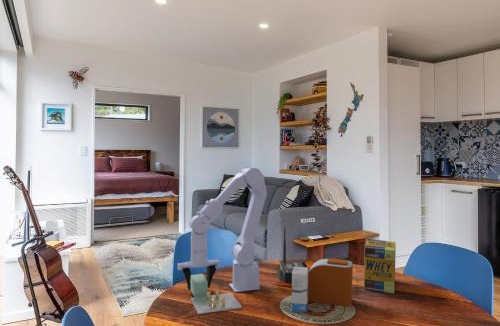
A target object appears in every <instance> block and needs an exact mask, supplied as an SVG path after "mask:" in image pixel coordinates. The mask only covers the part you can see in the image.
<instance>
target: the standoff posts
mask: <svg viewBox="0 0 500 326" xmlns="http://www.w3.org/2000/svg"><path fill="white" fill-rule="evenodd" d="M219 294H220V290H219V289H216V290H215V295H216V298H219ZM210 295H211V290H208V291H207V299H210ZM221 306H225V297H222V298H221ZM212 307H216V299H215V298H213V299H212Z"/></svg>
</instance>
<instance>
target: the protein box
mask: <svg viewBox="0 0 500 326" xmlns="http://www.w3.org/2000/svg"><path fill="white" fill-rule="evenodd" d="M396 252H397V251H396V241H391V240H383V239H382V240H381V239H372V238H367V241H366V244H365V247H364V258H363V259H364V265H363V266H364V271H363V273H364V274H363V289H364V290H366V291H372V292H373V291H374V292H381V293H386V294H395V283H396Z"/></svg>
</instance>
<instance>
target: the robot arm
mask: <svg viewBox="0 0 500 326" xmlns="http://www.w3.org/2000/svg"><path fill="white" fill-rule="evenodd" d="M243 188H248V191H250V193H251V197H250V201H249V203H248V207H247V212H246V214H245V219H244V222H243V225H242V229H241V231H240V232H241V233H240V235H238V237H237V239H236V242H235V244H234V245H233V246H232V247H231V255H232V257H233V260H232V282H231V283H229V287H230V288H231V289H232V290H233V291H234V292H235V293H238V292H239V293H240V292H246V291H247V292H249V291H256V290H260V289H261V286H260V267H259V266H260V265H259V264H258V263H257V262H256V261H254V260H255V247H256V246H255V237H256V233H257V229H258V226H259V224H260V220H261V215H262V212H263V209H264V205H265V202H266V199H267V194H268V191H267V186H266V182H265V175H264V174H263V173H262V171H261V170H260V169H259V168H257V167H251V166H250V167H249V166H246V167H243V168H241V170H240V171H239V172H237V173H236V174H235V175H234V177H233V178H232V179H231V180H230V181H229V182H228V183H227V185H226V186H225V187H224V188H223V190H222V191H221V192H220V193H219V194H218V196H217V197H216V198H210V200H206V201H205V202H204V203H205V205H204V206H203V207H202V208H201V210H200V211H197V212H196V215H194V216H192V218H190V222H189V227H190V228H191V232H190V261H185V262H177V270H178V271H182V273H183V276H184V278H185V281H186V286H187V290H188V291H191V283H190V282H191V275H192V272H191V270H192V269H199V268H200V269H201V268H205V269H206V280H207V282H208V289H209V288H211V284H212V280H213V277H214V275H215V273H216V272H217V268H216V267H220V260H219V259H208V233H207V232H208V231H209V228H210V224H212V222H213V221H214V220H215V219H216V218H217V217H218V216H220V213H221V212H222V211H223V209H224V204H225V203H226V202H227V201H229V199H230V198H231V197H232V196H233V195H234V194H235V193H236V192H237V191H238V190H239V189H243Z"/></svg>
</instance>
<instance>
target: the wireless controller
mask: <svg viewBox="0 0 500 326" xmlns="http://www.w3.org/2000/svg"><path fill="white" fill-rule="evenodd" d="M283 230H284V231H283V245H282V246H283V247H282V249H283V253H282V254H283V255H282V256H283V257H282V259H283V260H279V269H275V272H276V276H277V278H278V280H279V283H292V271H293V268H294V267H295V266H296V267H306V268H308V272H309V270H310V268H309V267H308V265H307V264H306V261H305V260H287V255H286V254H287V242H286V241H287V240H286V239H287V238H286V227H284V228H283Z"/></svg>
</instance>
